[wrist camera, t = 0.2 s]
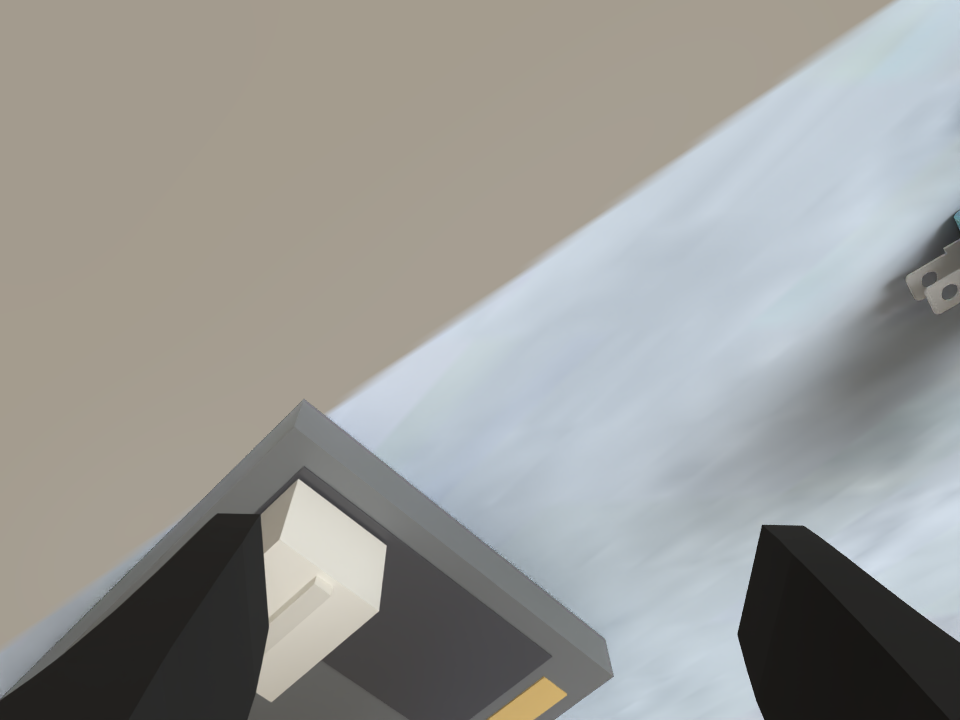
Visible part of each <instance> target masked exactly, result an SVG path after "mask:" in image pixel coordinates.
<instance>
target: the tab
mask: <svg viewBox="0 0 960 720" xmlns="http://www.w3.org/2000/svg"><path fill="white" fill-rule="evenodd" d="M261 526H262V539H263V552H264V565H265V579H266V592H267V605H268V619H269V631H268V636H267V641H266V646H265V651H264V656H263V662H262V666H261V671H260V676H259V681H258V685H257V690H256V693H258V694H259V695H261V696H262V697H264V698H265V699H267V700H268V701H270V702H272V701H274V700H275V699H276V698H277V697H278V696H279V695H281V694H282V693H283V692H284V691H285V690H287V689H288V688H289V687H290V686H291V685H292V684H294V683H295V682H296V681H297V680H298V679H299V678H301V677H302V676H303V675H304V674H305V673H307V672H308V671H309V670H310V669H311V668H312V667H314V666H315V665H316V664H317V663H318V662H320V661H321V660H322V659H323V658H324V657H325V656H327V655H328V654H329V653H330V652H331V651H333V650H334V649H335V648H336V647H337V646H338V645H340V644H341V643H342V642H343V641H344V640H346V639H347V638H348V637H349V636H350V635H351V634H353V633H354V632H355V631H356V630H357V629H359V628H360V627H361V626H362V625H363V624H364V623H366V622H367V621H368V620H369V619H370V618H372V617H373V616H374V615H375V614H376V613H377V612H379V607H380V598H381V590H382V581H383V573H384V564H385V556H386V547H387V546H386V545H385V544H384V543H383V542H381V541H380V540H379V539H377V538H376V537H375V536H373V535H372V534H371V533H369V532H368V531H367V530H365V529H364V528H363V527H361V526H360V525H359V524H357V523H356V522H355V521H353V520H352V519H351V518H350V517H348V516H347V515H346V514H344V513H343V512H342V511H340V510H339V509H338V508H336V507H335V506H334V505H332V504H331V503H330V502H328V501H327V500H326V499H324V498H323V497H322V496H320V495H319V494H318V493H317V492H315V491H314V490H313V489H311V488H310V487H309V486H307V485H306V484H305V483H303V482H302V481H301V480H299V479H298V480H297V481H295V482H294V483H293V484H292V485H291V486H290V487H289V488H288V489H287V490H286V491H285V492H284V493H283V494H282V495H281V496H280V497H279V498H278V499H277V500H275V501H274V502H273V503H272V504H271V505H270V506H269V507H268V508H267V509H266V510H265V511H264V512H263V513H262V514H261Z"/></svg>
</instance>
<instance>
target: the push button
mask: <svg viewBox="0 0 960 720" xmlns="http://www.w3.org/2000/svg"><path fill="white" fill-rule="evenodd" d="M954 219H955V221H956V223H957V226H958V228H959V230H960V210H959V211H958V212H957V213H956V214H955V216H954ZM943 249H944V251H945V254H943V255H941V256H939V257H938V258H936V259H934V260H933V261H931V262H929V263H927V264H926V265H924V266H922V267H920V268H919V269H917V270H915V271H914V272H912V273H910V274H908V275H907V276H906V279H905V281H906V283H907V285H908V287H909V289H910V291H911V294H912V296H913V298H914V299H915V300H917V301H921V300H923V299H925V298H927V300H928V302H929V304H930V306H931V308H932V311H933V313H935V314H941V313H943V312H945V311H947V310H949V309H950V308H952V307H954V306H956V305H957V304H959V303H960V239H958V240H956V241H955V242H953V243H951V244H949V245H948V246H946V247H944V248H943ZM929 272H935V273H936V275H937V280H936V281H935V283H934V284H932V285H930V286H928V287H926V286H923V284H922V278H923V276H924V275H925V274H927V273H929ZM950 284H955V285H956V286H957V293H956V295H955V296H954V297H952V298H951V299H943V298H942V296H941V295H942V291H943V289H944V288H945V287H946V286H948V285H950Z"/></svg>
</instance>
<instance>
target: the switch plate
mask: <svg viewBox="0 0 960 720" xmlns="http://www.w3.org/2000/svg"><path fill="white" fill-rule="evenodd" d="M298 479H299V480H301V481H302V482H303V483H305V484H306V485H307V486H309V487H310V488H311V489H313V490H314V491H315V492H317V493H318V494H319V495H320V496H322V497H323V498H324V499H326V500H327V501H328V502H330V503H331V504H332V505H334V506H335V507H336V508H338V509H339V510H340V511H342V512H343V513H344V514H346V515H347V516H348V517H350V518H351V519H352V520H353V521H355V522H356V523H357V524H359V525H360V526H361V527H363V528H364V529H365V530H367V531H368V532H369V533H371V534H372V535H373V536H375V537H376V538H377V539H379V540H380V541H381V542H383V543H384V544H385V545H386V546H387V547H386V556H385V564H384V573H383V581H382V590H381V598H380V607H379V612H377V613H376V614H375V615H374V616H373V617H372V618H370V619H369V620H368V621H367V622H366V623H364V624H363V625H362V626H361V627H360V628H359V629H357V630H356V631H355V632H354V633H353V634H351V635H350V636H349V637H348V638H347V639H346V640H344V641H343V642H342V643H341V644H340V645H338V646H337V647H336V648H335V649H334V650H333V651H331V652H330V653H329V654H328V655H327V656H325V657H324V658H323V659H322V660H321V661H320V662H318V663H317V664H316V665H315V666H314V667H312V668H311V669H310V670H309V671H308V672H307V673H305V674H304V675H303V676H302V677H301V678H299V679H298V680H297V681H296V682H295V683H294V684H292V685H291V686H290V687H289V688H288V689H287V690H285V691H284V692H283V693H282V694H281V695H279V696H278V697H277V698H276V699H275V700H274V701H272V702H270V701H268V700H267V699H265V698H264V697H262V696H261V695H259V694H258V693H256V695H255V698H254V701H253V704H252V707H251V710H250V713H249V716H248V719H247V720H555V719H556V718H557V717H559V716H560V715H561V714H563V713H564V712H566V711H567V710H568V709H570V708H571V707H572V706H574V705H575V704H577V703H578V702H579V701H581V700H582V699H583V698H585V697H586V696H588V695H589V694H590V693H592V692H593V691H594V690H596V689H597V688H598V687H600V686H601V685H603V684H604V683H605V682H607V681H608V680H609V679H611V678H612V677H614V675H613V671H612V667H611V662H610V658H609V654H608V649H607V645H606V641H605V639H604V638H603V637H602V636H600V635H599V634H598V633H597V632H595V631H594V630H593V629H592V628H590V627H589V626H588V625H587V624H585V623H584V622H583V621H582V620H580V619H579V618H578V617H577V616H575V615H574V614H573V613H572V612H570V611H569V610H568V609H567V608H565V607H564V606H563V605H562V604H560V603H559V602H558V601H557V600H555V599H554V598H553V597H552V596H550V595H549V594H548V593H547V592H545V591H544V590H543V589H542V588H540V587H539V586H538V585H537V584H535V583H534V582H533V581H532V580H530V579H529V578H528V577H527V576H525V575H524V574H523V573H522V572H520V571H519V570H518V569H517V568H515V567H514V566H513V565H512V564H510V563H509V562H508V561H507V560H505V559H504V558H503V557H501V556H500V555H499V554H498V553H496V552H495V551H494V550H493V549H491V548H490V547H489V546H488V545H486V544H485V543H484V542H483V541H481V540H480V539H479V538H478V537H476V536H475V535H474V534H473V533H471V532H470V531H469V530H468V529H466V528H465V527H464V526H463V525H461V524H460V523H459V522H458V521H456V520H455V519H454V518H453V517H451V516H450V515H449V514H448V513H446V512H445V511H444V510H443V509H441V508H440V507H439V506H438V505H436V504H435V503H434V502H433V501H431V500H430V499H429V498H428V497H426V496H425V495H424V494H423V493H421V492H420V491H419V490H418V489H416V488H415V487H414V486H413V485H411V484H410V483H409V482H408V481H406V480H405V479H404V478H403V477H401V476H400V475H399V474H398V473H396V472H395V471H394V470H393V469H391V468H390V467H389V466H388V465H386V464H385V463H384V462H383V461H381V460H380V459H379V458H378V457H376V456H375V455H374V454H373V453H371V452H370V451H369V450H368V449H366V448H365V447H364V446H363V445H361V444H360V443H359V442H357V441H356V440H355V439H354V438H352V437H351V436H350V435H349V434H347V433H346V432H345V431H344V430H342V429H341V428H340V427H339V426H337V425H336V424H335V423H334V422H332V421H331V420H330V419H329V418H327V417H326V416H325V415H324V414H322V413H321V412H320V411H319V410H317V409H316V408H315V407H314V406H312V405H311V404H310V403H309V402H307V401H306V400H305V399H303V401H301V402H300V403H299V405H297V406H296V407H295V408H294V409H293V410H292V411H291V413H289V414H288V415H287V416H286V417H285V418H284V419H283V420H282V421H281V422H280V423H279V424H278V425H277V426H276V427H275V428H274V429H273V430H272V431H271V432H270V433H269V434H268V435H267V436H266V437H265V438H264V439H263V440H262V441H261V442H260V443H259V444H258V445H257V446H256V447H255V448H254V449H253V450H252V451H251V452H250V453H249V454H248V455H247V456H246V457H245V458H244V459H243V460H242V461H241V462H240V463H239V464H238V465H237V466H236V467H235V468H234V469H233V470H232V471H231V472H230V473H229V474H228V475H227V476H226V477H225V478H224V479H222V480H221V482H219V483H218V484H217V485H216V486H215V487H214V489H212V491H210V492H209V493H208V494H207V495H206V496H205V497H204V498H203V499H202V500H201V501H200V502H199V503H198V504H197V505H196V506H195V507H194V508H193V509H192V510H191V511H190V512H189V513H188V514H187V515H186V516H185V517H184V518H183V519H182V520H181V521H180V522H179V523H178V524H177V525H176V526H175V527H174V528H173V529H172V530H171V531H170V532H169V533H168V534H167V535H166V536H165V537H164V538H163V539H162V540H161V541H160V542H159V543H158V544H157V545H156V546H155V547H154V548H153V549H152V550H151V551H150V552H149V553H148V554H147V555H146V556H145V557H144V558H143V559H142V560H141V561H140V562H139V563H138V564H137V565H135V566H134V567H133V568H132V569H131V570H130V571H129V572H128V573H127V574H126V575H125V576H124V577H123V578H122V579H121V580H120V581H119V582H118V583H117V584H116V585H115V586H114V587H113V588H112V589H111V590H110V591H109V592H108V593H107V594H106V595H105V596H104V597H103V598H102V599H101V600H100V601H99V602H98V603H97V604H96V605H95V606H94V607H93V608H92V609H91V610H90V611H89V612H88V613H87V614H86V615H85V616H84V617H83V618H82V619H81V620H80V621H79V622H78V623H77V624H76V625H75V626H74V627H73V628H72V629H71V630H70V631H69V632H68V633H67V634H66V635H65V636H64V637H63V638H62V639H61V640H60V641H59V642H58V643H57V644H56V645H55V646H54V647H53V648H52V649H51V650H50V651H48V652H47V653H46V654H45V655H44V656H43V657H42V658H41V659H40V660H39V661H38V662H37V663H36V664H35V665H34V666H33V667H32V668H31V669H30V670H29V671H28V672H27V673H26V674H25V675H24V676H23V677H22V678H21V679H20V680H19V681H18V682H17V683H16V684H15V685H14V686H13V687H12V688H11V689H10V690H9V691H8V692H7V693H6V694H5V695H4V696H3V697H2V698H1V699H3V698H4V697H6V696H7V695H8V694H10V693H11V692H13V691H14V690H16V689H17V688H18V687H20V686H21V685H23V684H24V683H25V682H27V681H28V680H30V679H31V678H32V677H34V676H35V675H36V674H38V673H39V672H40V671H42V670H43V669H44V668H46V667H47V666H48V665H50V664H51V663H52V662H54V661H55V660H56V659H58V658H59V657H60V656H61V655H63V654H64V653H65V652H66V651H67V650H69V649H70V648H71V647H72V646H73V645H75V644H76V643H77V642H78V641H79V640H80V639H82V638H83V637H84V636H85V635H86V634H88V633H89V632H90V631H91V630H92V629H94V628H95V627H96V626H97V625H98V624H99V623H101V622H102V621H103V620H104V619H105V618H107V617H108V616H109V615H110V614H111V613H112V612H113V611H115V610H116V609H117V608H118V607H119V606H120V605H121V604H122V603H123V602H124V601H126V600H127V599H128V598H129V597H130V596H131V595H132V594H133V593H134V592H135V591H136V590H137V589H138V588H140V587H141V586H142V585H143V584H144V583H145V582H146V581H147V580H148V579H149V578H150V577H151V576H152V575H154V574H155V573H156V572H157V571H158V570H159V569H160V568H161V567H162V566H163V565H164V564H165V563H166V562H167V561H168V560H169V559H170V558H171V557H172V556H173V555H174V554H175V553H176V552H177V551H178V550H179V549H180V548H181V547H182V546H183V545H184V544H185V543H186V542H187V541H188V540H189V539H190V538H191V537H192V536H193V535H194V534H195V533H196V532H198V531H199V530H200V529H201V528H202V527H203V526H204V525H205V524H206V523H207V522H208V521H209V520H210V519H211V518H212V517H213V516H215V515H216V514H217V513H231V514H262V513H263V512H264V511H265V510H266V509H267V508H268V507H269V506H270V505H271V504H272V503H273V502H274V501H275V500H277V499H278V498H279V497H280V496H281V495H282V494H283V493H284V492H285V491H286V490H287V489H288V488H289V487H290V486H291V485H292V484H293V483H294V482H295V481H297V480H298ZM1 699H0V700H1Z"/></svg>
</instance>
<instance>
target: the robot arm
mask: <svg viewBox="0 0 960 720" xmlns="http://www.w3.org/2000/svg"><path fill="white" fill-rule="evenodd" d="M268 631H269V619H268V605H267V592H266V579H265V565H264V552H263V539H262V526H261V514H231V513H217V514H216V515H215V516H213V517H212V518H211V519H210V520H209V521H208V522H207V523H206V524H205V525H204V526H203V527H202V528H201V529H200V530H199V531H198V532H196V533H195V534H194V535H193V536H192V537H191V538H190V539H189V540H188V541H187V542H186V543H185V544H184V545H183V546H182V547H181V548H180V549H179V550H178V551H177V552H176V553H175V554H174V555H173V556H172V557H171V558H170V559H169V560H168V561H167V562H166V563H165V564H164V565H163V566H162V567H161V568H160V569H159V570H158V571H157V572H156V573H155V574H154V575H152V576H151V577H150V578H149V579H148V580H147V581H146V582H145V583H144V584H143V585H142V586H141V587H140V588H138V589H137V590H136V591H135V592H134V593H133V594H132V595H131V596H130V597H129V598H128V599H127V600H126V601H124V602H123V603H122V604H121V605H120V606H119V607H118V608H117V609H116V610H115V611H113V612H112V613H111V614H110V615H109V616H108V617H107V618H105V619H104V620H103V621H102V622H101V623H99V624H98V625H97V626H96V627H95V628H94V629H92V630H91V631H90V632H89V633H88V634H86V635H85V636H84V637H83V638H82V639H80V640H79V641H78V642H77V643H76V644H75V645H73V646H72V647H71V648H70V649H69V650H67V651H66V652H65V653H64V654H63V655H61V656H60V657H59V658H58V659H56V660H55V661H54V662H52V663H51V664H50V665H48V666H47V667H46V668H44V669H43V670H42V671H40V672H39V673H38V674H36V675H35V676H34V677H32V678H31V679H30V680H28V681H27V682H25V683H24V684H23V685H21V686H20V687H18V688H17V689H16V690H14V691H13V692H11V693H10V694H8V695H7V696H6V697H4V698H3V699H1V700H0V720H247V719H248V716H249V713H250V710H251V707H252V704H253V701H254V698H255V695H256V690H257V685H258V681H259V676H260V671H261V666H262V662H263V656H264V651H265V646H266V641H267V636H268ZM737 635H738V638H739V642H740V646H741V650H742V653H743V657H744V661H745V664H746V668H747V672H748V675H749V678H750V681H751V685H752V688H753V691H754V695H755V698H756V701H757V703H758V706H759V708H760V711H761V713H762V715H763V718H764V720H960V642H958V641H957V640H955V639H954V638H953V637H951V636H950V635H948V634H947V633H946V632H944V631H943V630H942V629H940V628H939V627H937V626H936V625H935V624H933V623H932V622H930V621H929V620H928V619H926V618H925V617H924V616H922V615H921V614H920V613H918V612H917V611H916V610H914V609H913V608H912V607H910V606H909V605H908V604H906V603H905V602H904V601H902V600H901V599H900V598H898V597H897V596H896V595H895V594H893V593H892V592H891V591H889V590H888V589H887V588H885V587H884V586H883V585H882V584H880V583H879V582H878V581H876V580H875V579H874V578H873V577H871V576H870V575H869V574H867V573H866V572H865V571H864V570H862V569H861V568H860V567H858V566H857V565H856V564H855V563H853V562H852V561H851V560H849V559H848V558H847V557H846V556H844V555H843V554H842V553H840V552H839V551H838V550H836V549H835V548H834V547H833V546H831V545H830V544H829V543H827V542H826V541H825V540H823V539H822V538H820V537H819V536H818V535H816V534H815V533H813V532H812V531H811V530H809V529H808V528H806V527H805V526H791V525H762V528H761V532H760V537H759V541H758V546H757V550H756V554H755V559H754V563H753V568H752V572H751V577H750V581H749V585H748V590H747V594H746V599H745V603H744V608H743V612H742V616H741V621H740V625H739V630H738V634H737Z"/></svg>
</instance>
